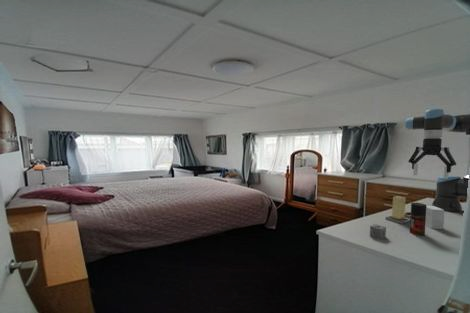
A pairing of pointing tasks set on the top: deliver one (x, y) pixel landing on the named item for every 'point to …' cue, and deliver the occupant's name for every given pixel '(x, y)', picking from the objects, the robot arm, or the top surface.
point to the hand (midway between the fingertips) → (429, 176)
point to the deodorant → (418, 219)
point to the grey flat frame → (407, 214)
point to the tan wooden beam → (398, 208)
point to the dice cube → (378, 231)
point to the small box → (434, 217)
